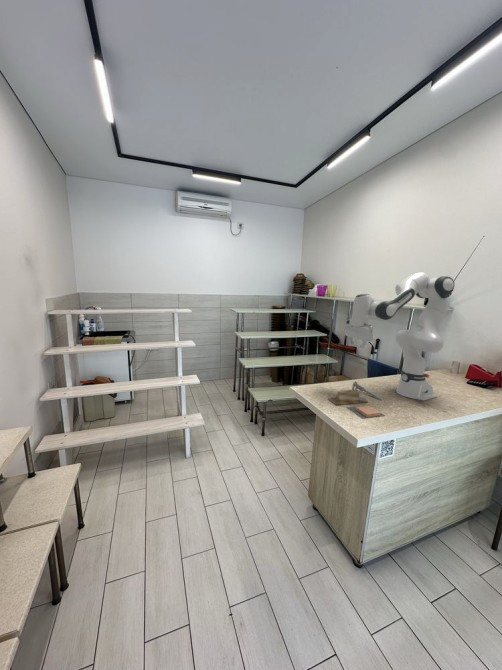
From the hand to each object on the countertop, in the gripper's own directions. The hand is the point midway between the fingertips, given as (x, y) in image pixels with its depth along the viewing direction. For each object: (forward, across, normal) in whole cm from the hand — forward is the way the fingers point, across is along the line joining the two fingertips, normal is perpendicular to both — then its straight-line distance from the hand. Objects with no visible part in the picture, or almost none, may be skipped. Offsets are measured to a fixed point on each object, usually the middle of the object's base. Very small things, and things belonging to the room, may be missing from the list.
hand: (356, 346), depth 148 cm
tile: (+28, -20, +9) cm, 36 cm away
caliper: (+30, -4, -8) cm, 31 cm away
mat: (+29, -23, +9) cm, 38 cm away
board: (+29, -10, +10) cm, 32 cm away
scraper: (+28, -10, +8) cm, 31 cm away
